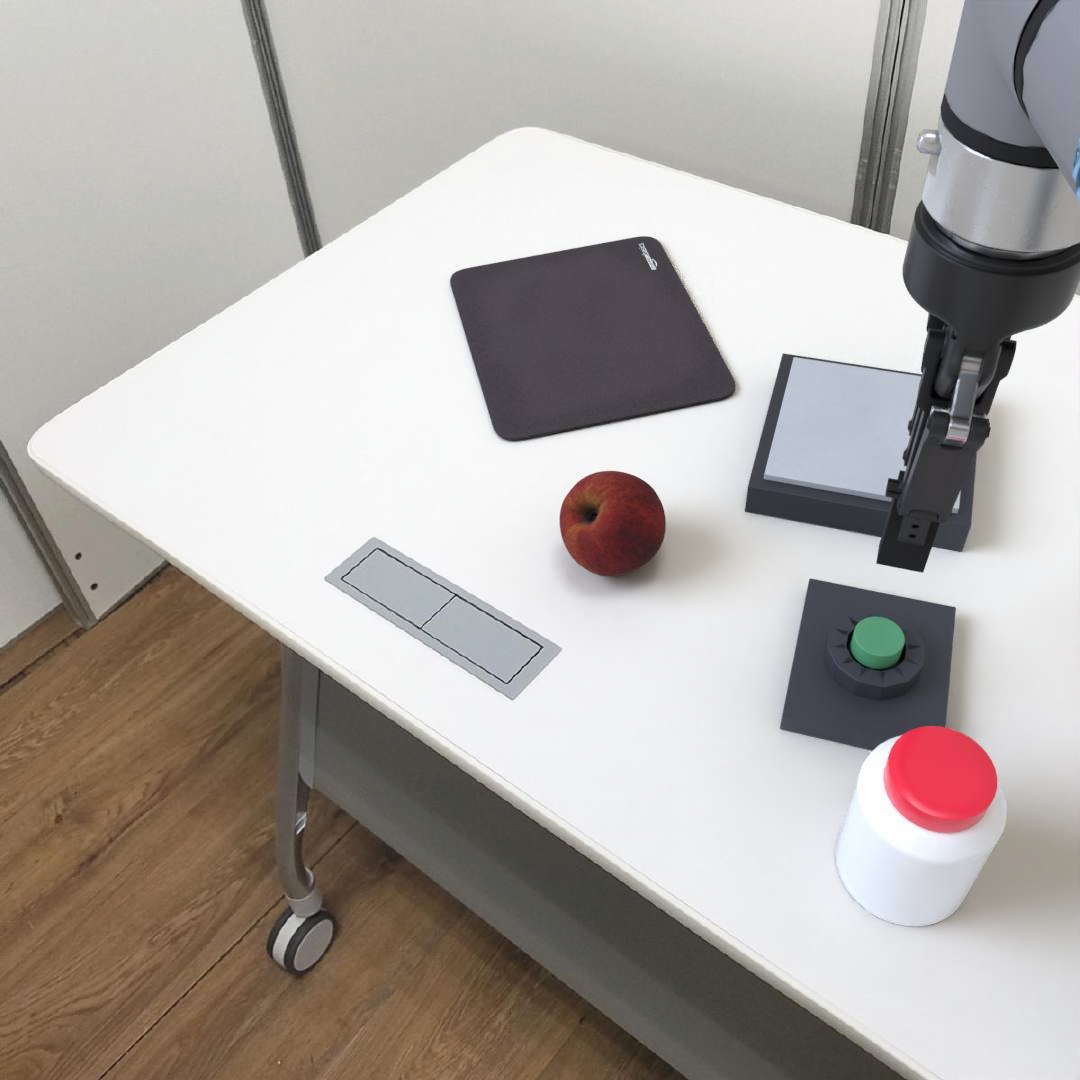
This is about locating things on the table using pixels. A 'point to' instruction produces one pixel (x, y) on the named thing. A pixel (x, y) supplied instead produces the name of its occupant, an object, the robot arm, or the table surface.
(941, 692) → the button base
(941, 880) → the pill bottle
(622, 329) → the mouse pad
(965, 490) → the scale
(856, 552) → the table surface
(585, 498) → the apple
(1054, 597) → the table surface
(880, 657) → the green button
